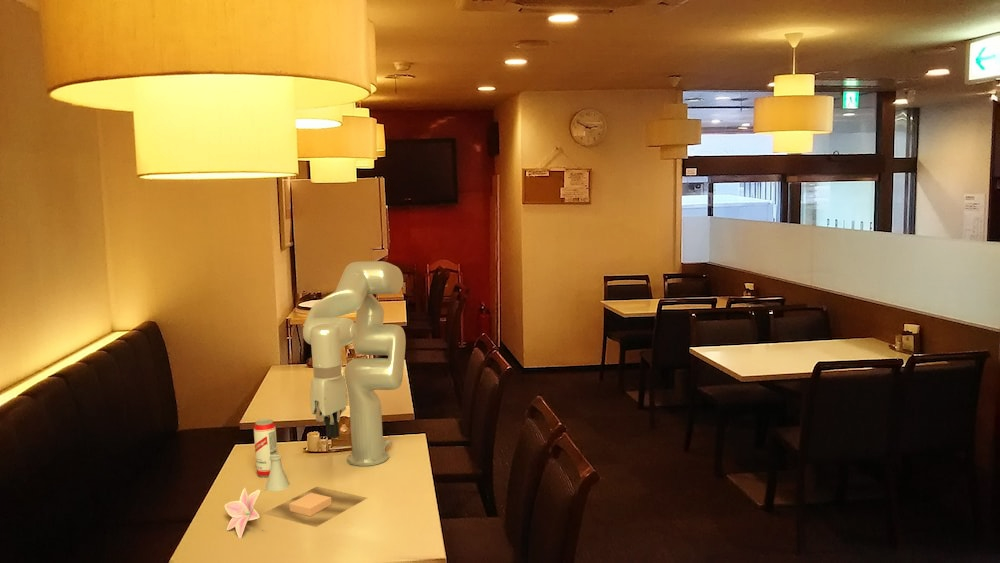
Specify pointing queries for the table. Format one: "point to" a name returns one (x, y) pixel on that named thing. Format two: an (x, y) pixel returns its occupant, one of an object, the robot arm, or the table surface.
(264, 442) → the beer can
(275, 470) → the flask
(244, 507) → the lily
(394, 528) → the table surface
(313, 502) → the tile
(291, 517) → the board
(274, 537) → the table surface
